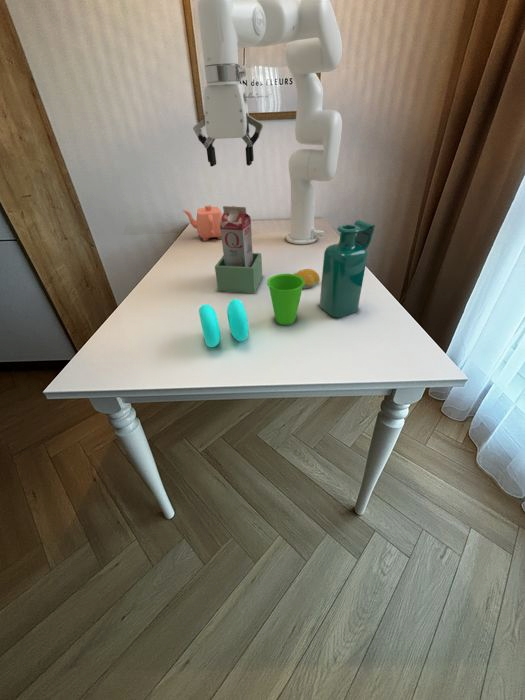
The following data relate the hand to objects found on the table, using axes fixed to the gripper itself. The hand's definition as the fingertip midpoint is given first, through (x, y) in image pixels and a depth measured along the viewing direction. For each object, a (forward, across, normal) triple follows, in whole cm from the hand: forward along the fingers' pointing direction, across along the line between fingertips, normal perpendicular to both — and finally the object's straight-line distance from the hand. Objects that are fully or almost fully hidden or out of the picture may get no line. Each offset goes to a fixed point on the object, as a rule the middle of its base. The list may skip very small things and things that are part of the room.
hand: (231, 165), depth 80 cm
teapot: (+33, +24, -41) cm, 58 cm away
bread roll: (+33, -20, -1) cm, 39 cm away
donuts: (+32, -4, +32) cm, 46 cm away
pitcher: (+33, -31, +14) cm, 47 cm away
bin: (+33, 0, +2) cm, 33 cm away
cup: (+33, -17, +21) cm, 43 cm away
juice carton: (+32, 0, +2) cm, 32 cm away
